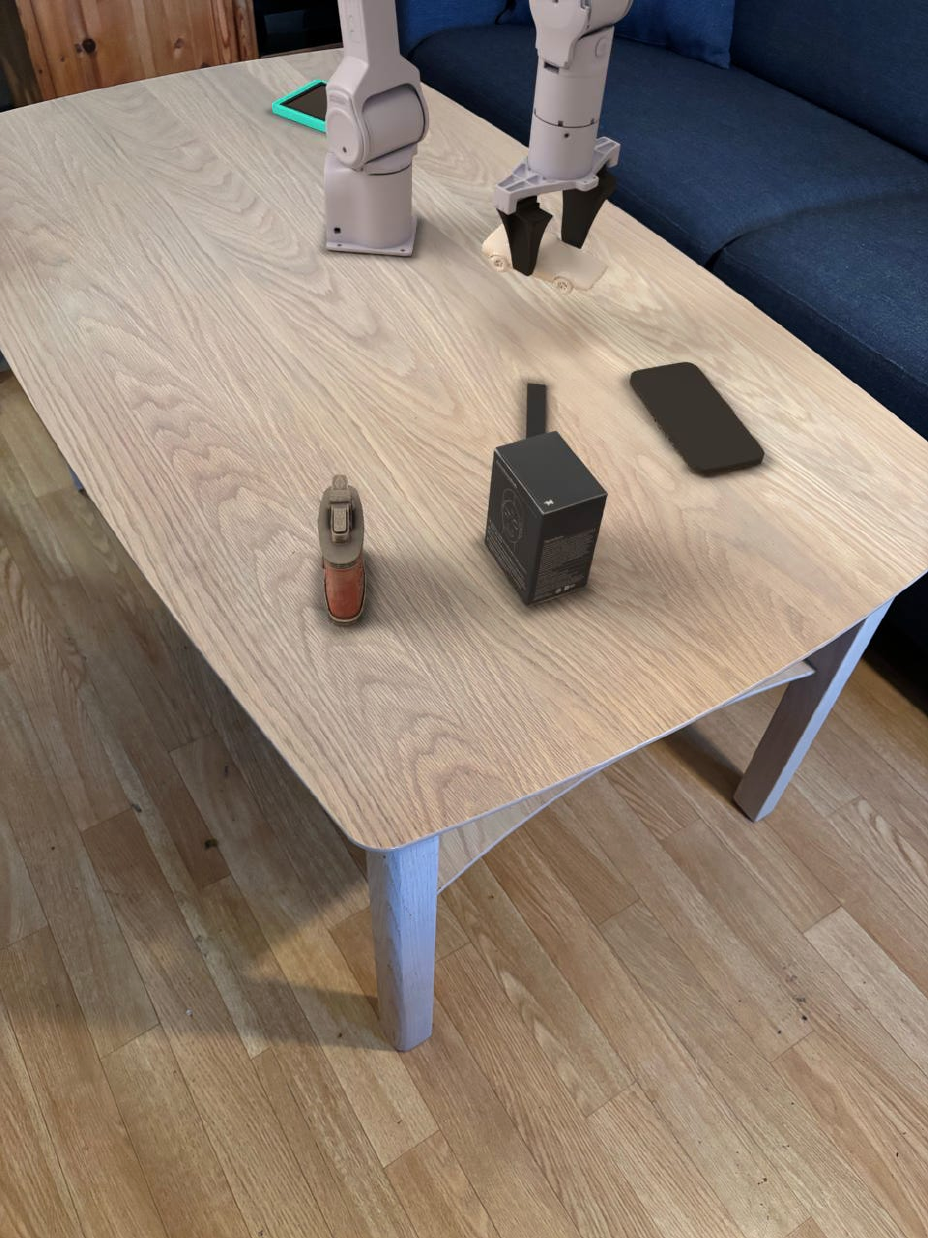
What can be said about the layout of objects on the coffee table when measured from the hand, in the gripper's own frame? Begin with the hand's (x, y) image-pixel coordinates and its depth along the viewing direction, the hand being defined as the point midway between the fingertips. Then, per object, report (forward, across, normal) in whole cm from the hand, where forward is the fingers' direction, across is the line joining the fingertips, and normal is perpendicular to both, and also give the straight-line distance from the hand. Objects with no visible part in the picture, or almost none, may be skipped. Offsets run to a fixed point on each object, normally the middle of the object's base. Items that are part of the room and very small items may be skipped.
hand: (546, 258), depth 93 cm
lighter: (+9, -36, -14) cm, 40 cm away
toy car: (+2, 0, 0) cm, 2 cm away
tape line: (+8, -12, -11) cm, 18 cm away
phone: (+8, +2, -19) cm, 21 cm away
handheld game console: (+9, +14, +49) cm, 52 cm away
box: (+9, -23, -22) cm, 33 cm away
